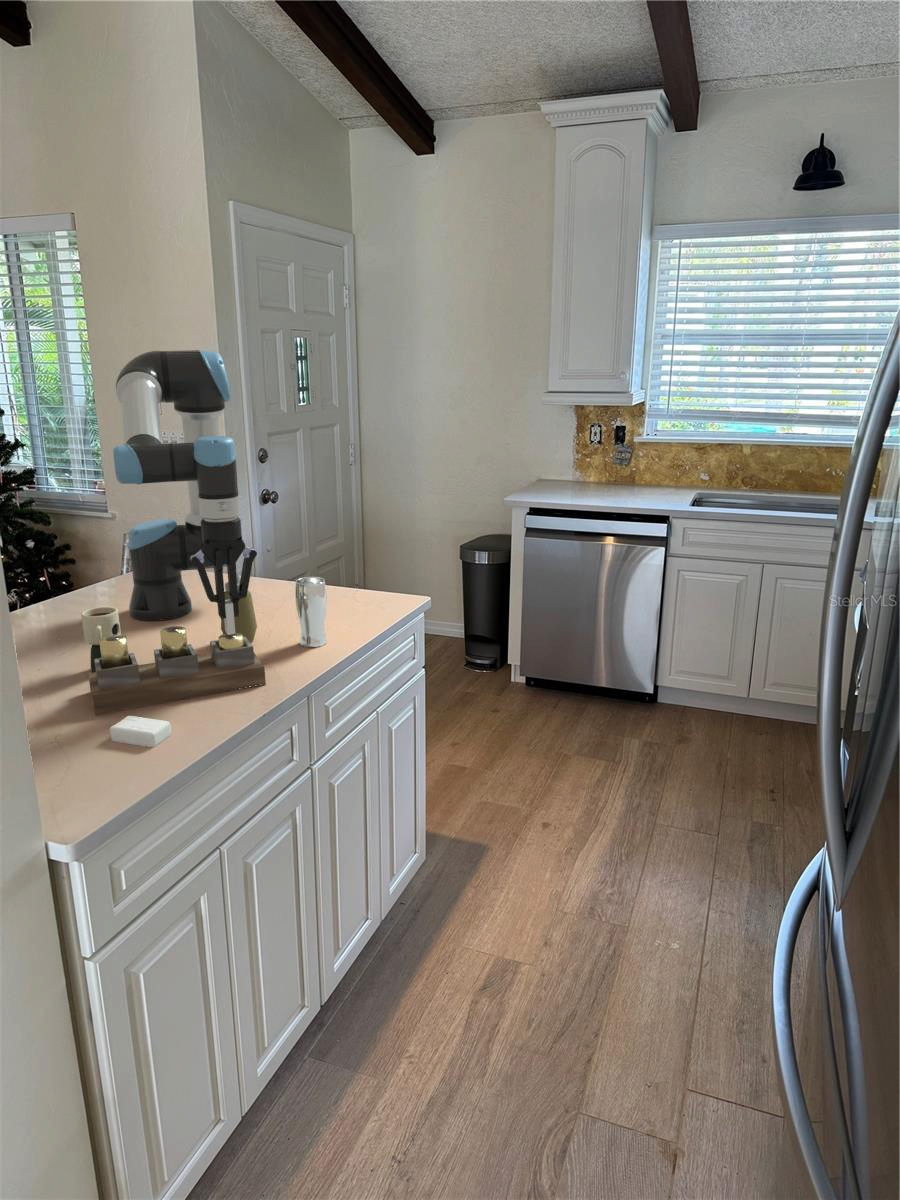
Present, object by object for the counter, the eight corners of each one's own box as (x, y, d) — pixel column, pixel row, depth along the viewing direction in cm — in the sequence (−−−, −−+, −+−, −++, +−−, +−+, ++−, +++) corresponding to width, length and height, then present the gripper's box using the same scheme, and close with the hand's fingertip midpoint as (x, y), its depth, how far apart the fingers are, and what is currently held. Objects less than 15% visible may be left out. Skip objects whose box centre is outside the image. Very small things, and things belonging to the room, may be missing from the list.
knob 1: (101, 661, 159) (98, 636, 158) (127, 657, 161) (124, 632, 160) (103, 669, 155) (100, 644, 154) (130, 665, 157) (127, 640, 156)
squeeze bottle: (249, 649, 186) (243, 572, 180) (216, 647, 187) (208, 571, 182) (263, 637, 193) (258, 563, 188) (231, 635, 195) (225, 561, 190)
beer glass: (334, 640, 191) (331, 578, 187) (317, 650, 185) (314, 586, 181) (309, 636, 194) (306, 575, 190) (292, 645, 188) (288, 582, 184)
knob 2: (218, 657, 170) (216, 634, 168) (241, 654, 172) (239, 630, 170) (223, 665, 166) (221, 641, 164) (247, 661, 168) (245, 637, 166)
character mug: (123, 677, 171) (115, 617, 167) (86, 681, 169) (77, 621, 165) (127, 659, 181) (120, 602, 177) (92, 662, 179) (84, 605, 175)
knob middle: (161, 652, 164) (158, 627, 162) (185, 648, 166) (183, 624, 165) (164, 660, 160) (161, 635, 158) (190, 656, 162) (187, 631, 160)
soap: (173, 735, 146) (171, 720, 145) (154, 749, 141) (152, 733, 140) (130, 729, 148) (128, 713, 147) (109, 742, 143) (107, 727, 142)
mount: (90, 691, 163) (85, 656, 161) (251, 664, 177) (248, 631, 175) (95, 715, 153) (90, 677, 151) (265, 684, 167) (263, 649, 165)
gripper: (189, 524, 154) (200, 643, 161) (258, 518, 159) (266, 633, 167) (182, 517, 160) (193, 631, 167) (249, 511, 166) (257, 622, 173)
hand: (230, 632), depth 167 cm, fingers closed
